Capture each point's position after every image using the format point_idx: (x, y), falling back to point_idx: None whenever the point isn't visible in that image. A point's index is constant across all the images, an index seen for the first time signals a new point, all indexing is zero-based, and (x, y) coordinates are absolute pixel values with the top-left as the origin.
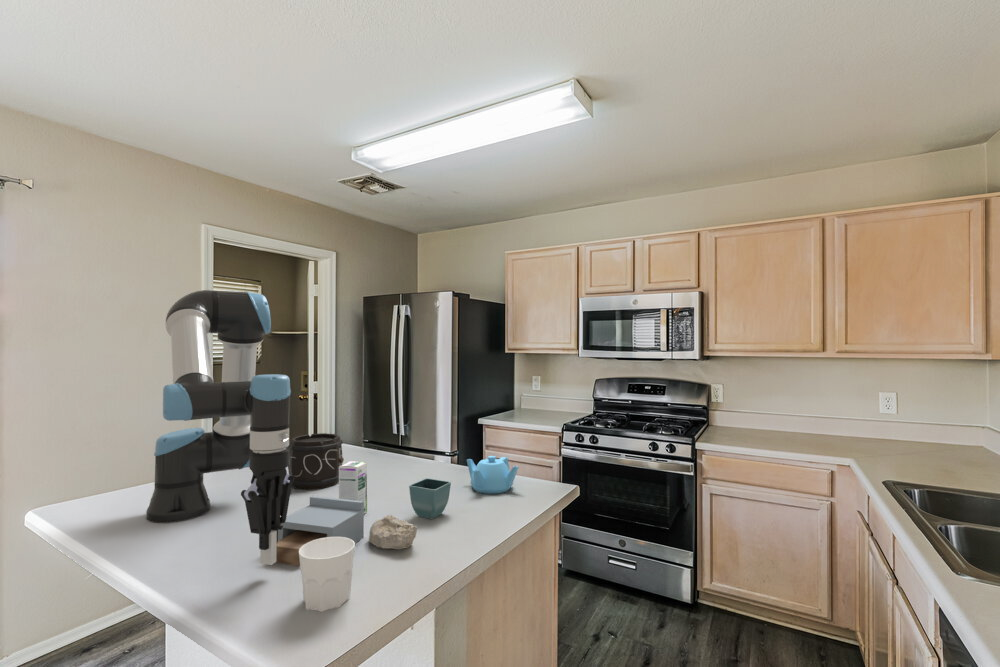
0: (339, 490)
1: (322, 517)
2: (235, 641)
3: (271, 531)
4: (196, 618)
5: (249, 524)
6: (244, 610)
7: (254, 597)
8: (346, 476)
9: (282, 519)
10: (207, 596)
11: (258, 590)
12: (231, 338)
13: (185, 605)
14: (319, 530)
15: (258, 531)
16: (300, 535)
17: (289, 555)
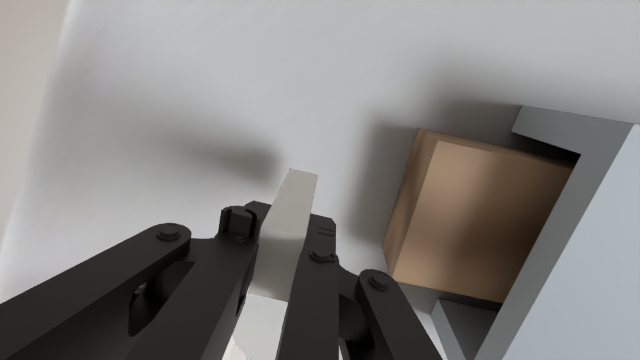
0: None
1: (628, 343)
2: (3, 255)
3: (275, 281)
4: (43, 99)
5: (98, 255)
6: (115, 208)
7: (180, 200)
8: None
9: (343, 349)
10: (155, 47)
11: (218, 191)
12: None
13: (89, 7)
14: (488, 347)
15: (141, 287)
16: (545, 221)
17: (401, 217)
